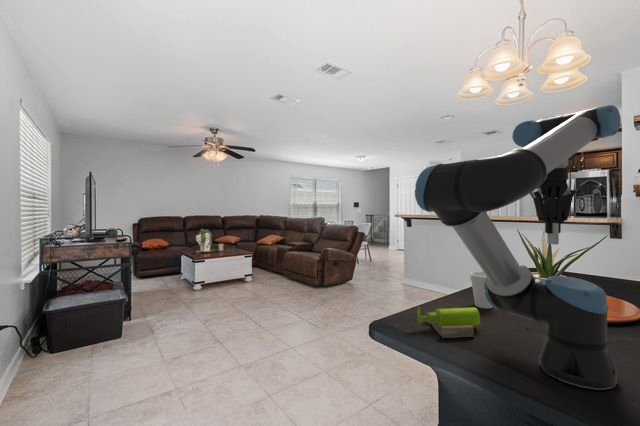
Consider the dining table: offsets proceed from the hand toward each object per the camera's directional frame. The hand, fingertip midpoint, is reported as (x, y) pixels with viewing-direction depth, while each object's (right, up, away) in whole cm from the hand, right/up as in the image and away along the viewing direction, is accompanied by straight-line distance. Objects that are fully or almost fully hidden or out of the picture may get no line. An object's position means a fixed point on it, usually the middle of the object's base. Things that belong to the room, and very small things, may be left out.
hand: (552, 243), depth 96 cm
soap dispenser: (-19, -25, +10) cm, 33 cm away
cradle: (-29, -30, +9) cm, 43 cm away
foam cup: (-6, -29, +29) cm, 41 cm away
